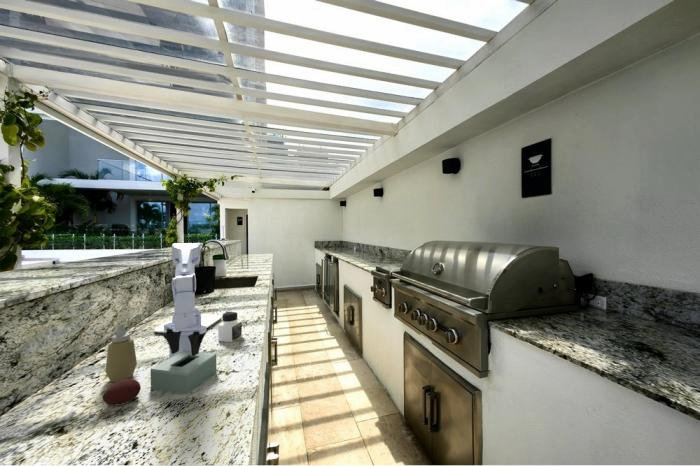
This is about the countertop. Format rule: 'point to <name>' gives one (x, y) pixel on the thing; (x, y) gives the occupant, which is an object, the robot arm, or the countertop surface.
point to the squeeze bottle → (121, 356)
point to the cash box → (183, 372)
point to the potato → (121, 392)
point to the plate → (205, 321)
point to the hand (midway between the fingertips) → (185, 353)
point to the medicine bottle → (229, 327)
